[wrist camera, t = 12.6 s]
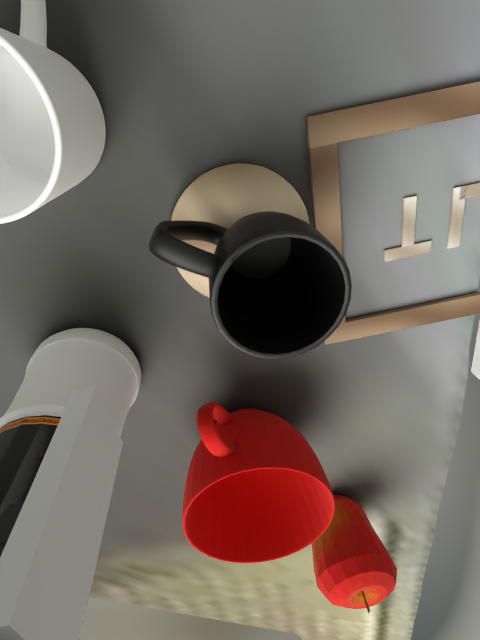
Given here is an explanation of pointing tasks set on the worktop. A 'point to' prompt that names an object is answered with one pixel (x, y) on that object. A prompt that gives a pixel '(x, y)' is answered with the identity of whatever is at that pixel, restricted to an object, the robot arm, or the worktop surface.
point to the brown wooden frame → (326, 198)
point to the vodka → (61, 399)
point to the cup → (43, 119)
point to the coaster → (233, 203)
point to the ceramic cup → (253, 488)
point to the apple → (352, 559)
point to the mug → (264, 280)
